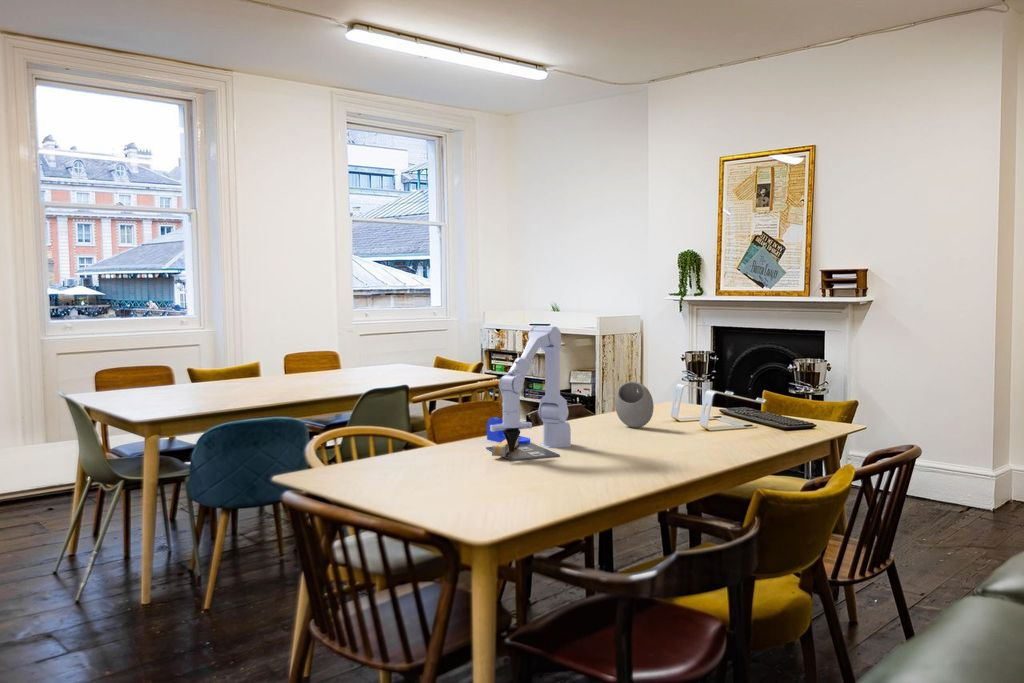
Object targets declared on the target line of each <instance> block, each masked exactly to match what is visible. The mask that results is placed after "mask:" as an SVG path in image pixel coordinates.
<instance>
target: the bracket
mask: <svg viewBox="0 0 1024 683" xmlns="http://www.w3.org/2000/svg"><path fill="white" fill-rule="evenodd" d="M501 423H503V416H502V417H501V419H500V418H499V417H497V416H495V417H490V418H489V419H488V420H487V423H486V440H488V441H490V442H496V443H501V442H502V441H504V440H505V439H506V438H505V436H504V434H503V431H495V432H492V431H490V425H495V424H501ZM503 429H504V428H503ZM529 443H531V438H530V437H526V436H522V435H519V444H529Z"/></svg>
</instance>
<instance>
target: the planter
mask: <svg viewBox="0 0 1024 683" xmlns="http://www.w3.org/2000/svg"><path fill="white" fill-rule="evenodd" d="M614 407H615V408H614V409H615V412H616V414H617V417H618V418H619V420H620V421H621V422H622V423H623V424H624V425H626V426H627V427H629V428H633V429H639V428H642V427H644V426H646V425H647V424H648V423H649V422H650V421H651V420H652V418H653V413H654V400H653V397H652V394H651V392H650V391H649V389H648V388H647V387H646V386H645V385H644V384H643V383H640V382H637V381H627V382H625V383H623V384H622V385H621V386H619V387H618V389H617V392H616V395H615V398H614Z"/></svg>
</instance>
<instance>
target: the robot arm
mask: <svg viewBox="0 0 1024 683" xmlns="http://www.w3.org/2000/svg"><path fill="white" fill-rule="evenodd" d="M527 337H528V341H527V344H526V346H525V348H524V350H522V354H521V355H520V357H517V358H515V360H514V362H513V363H512V365H511V366H510V368H509V370H508V372H507V373H506V374H505V375H503V376H501V377H500V379H499V382H498V388H499V391H500V396H501V397H502V417H503V423H501V424H495V425H490V431H492V432H495V431H503V434H504V436H505V438H506V440H507V443H508V447H509V451H511V452H514V447H515V444H516V441H517V438H518V436H521V435H520V434H521V430H523V429H525V430H526V429H530V430H531V429H533V423H532V422H530V421H525V422H524V421H523V422H522V421H520V418H521V417H520V416H521V415H520V414H521V413H520V412H521V411H520V410H521V409H520V405H521V404H520V400H521V399H520V393H521V391H523V389H524V383H525V378H526V376H527V374H528V372H529V370H530V369H531V361H532V360H533V359H534V356H536V354H537V352H538V351H539V350H540V348H541V349H542V350H543V352H544V376H545V377H544V378H545V381H544V382H545V383H544V384H545V385H544V388H545V389H544V390H545V392H544V396H542V397H541V398H540V399H539V407H538V409H537V410H538V412H537V413H538V417H539V419H540V420H541V422H543V423H542V424H543V425H542V428H543V431H542V432H543V437H542V438H543V440H542V441H543V442H540V443H538V446H540V447H543V448H546V449H555V448H556V449H557V448H564V447H567V448H568V447H572V446H573V445H572V443H571V441H572V440H571V434H572V433H571V430H572V429H571V425H570V423H569V421H567V419H568V417H569V408H568V401H567V399H565V398H564V397H563V396H562V395H561V367H560V366H561V360H560V359H561V356H560V355H561V348H562V332H561V330H560V329H559V328H558V327H557V326H537V325H534V326H533V325H532V327H531V328H530V330H529V332H528V334H527ZM503 428H504V429H503Z"/></svg>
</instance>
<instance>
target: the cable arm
mask: <svg viewBox="0 0 1024 683" xmlns="http://www.w3.org/2000/svg"><path fill="white" fill-rule="evenodd" d="M517 445H518V438H517V441H516V444H515V447H516V446H517ZM491 447H492V452H491V456H492V457H501V456H506V453H507V452H509V447H508V443H507V440H506V439H505V440H504V441H502V442H501V443H500V442H498V444H496V445H492V446H491Z"/></svg>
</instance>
